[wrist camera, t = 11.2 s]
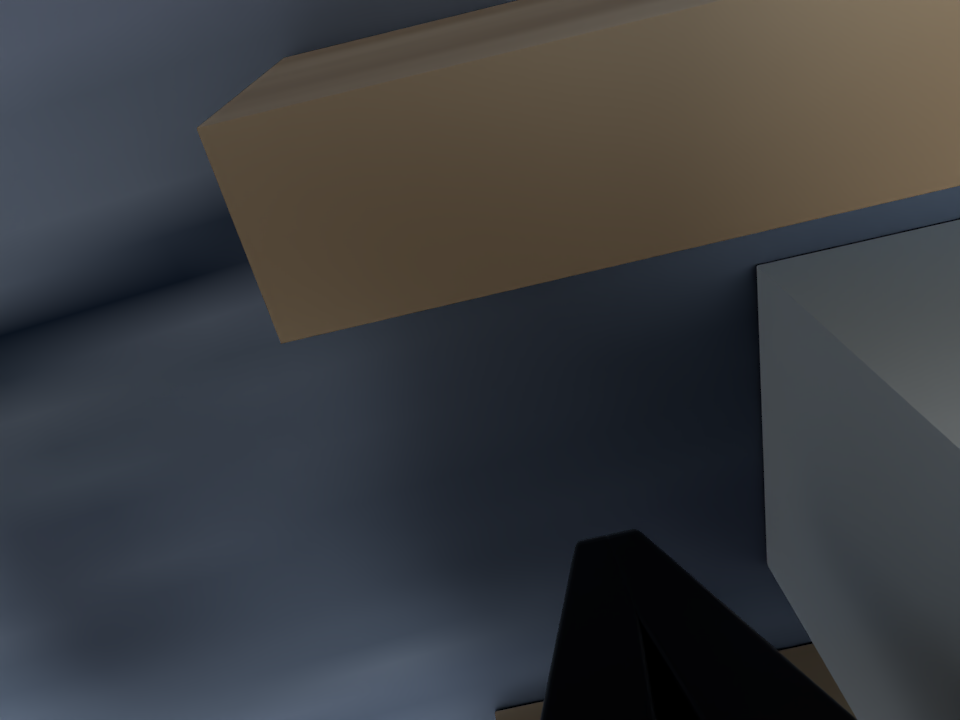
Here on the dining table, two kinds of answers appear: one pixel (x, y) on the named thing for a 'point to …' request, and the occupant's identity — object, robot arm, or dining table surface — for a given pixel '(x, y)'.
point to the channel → (575, 149)
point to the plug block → (868, 463)
